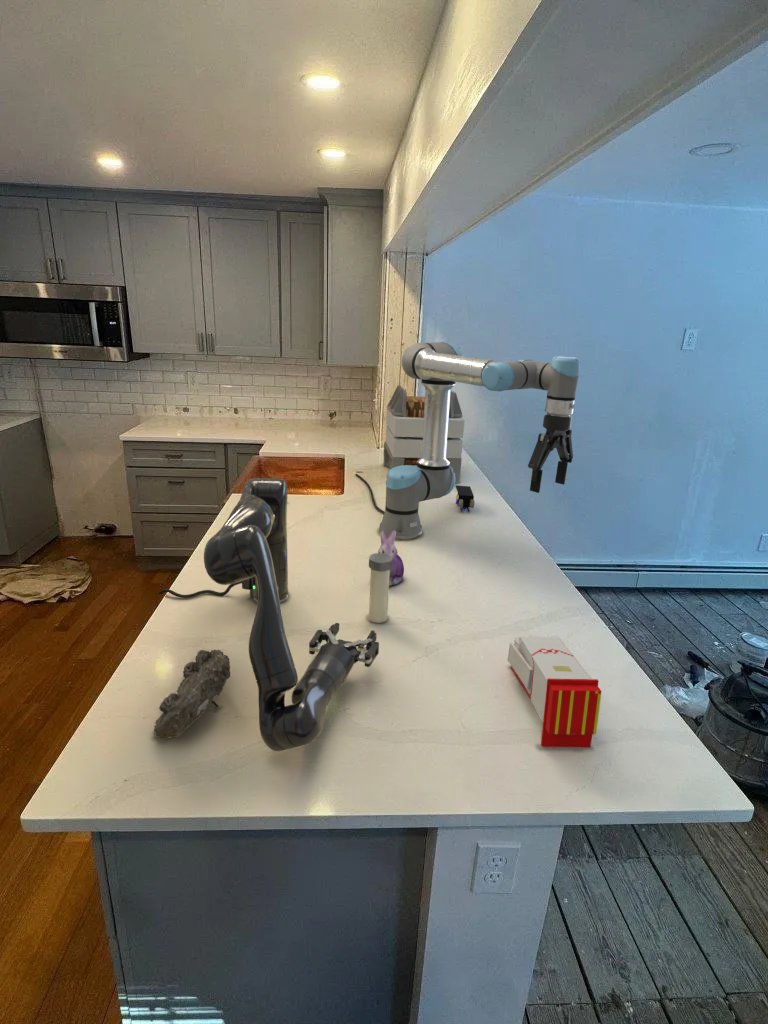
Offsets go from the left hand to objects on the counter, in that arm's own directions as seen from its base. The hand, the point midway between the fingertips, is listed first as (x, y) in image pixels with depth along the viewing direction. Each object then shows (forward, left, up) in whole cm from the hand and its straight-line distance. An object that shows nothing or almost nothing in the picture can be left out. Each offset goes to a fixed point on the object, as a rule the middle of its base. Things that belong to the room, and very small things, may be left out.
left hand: (355, 630), depth 127 cm
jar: (0, +17, -6) cm, 19 cm away
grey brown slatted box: (-22, +155, -6) cm, 156 cm away
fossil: (-23, -27, -6) cm, 36 cm away
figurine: (-3, +39, -6) cm, 40 cm away
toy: (+42, -1, -6) cm, 43 cm away
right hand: (+37, +60, +21) cm, 74 cm away
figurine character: (+6, +112, -6) cm, 113 cm away
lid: (0, +17, +10) cm, 20 cm away
